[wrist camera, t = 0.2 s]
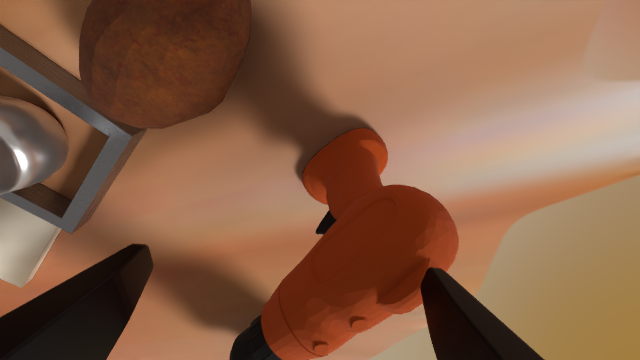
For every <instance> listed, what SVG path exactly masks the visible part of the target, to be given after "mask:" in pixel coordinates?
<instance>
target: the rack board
mask: <svg viewBox="0 0 640 360" xmlns="http://www.w3.org/2000/svg"><path fill="white" fill-rule="evenodd" d="M60 231H61V228H59V227H57V226H55V225H53V224H51V223H49V222H47V221H45V220H43V219H41V218H39V217H37V216H35V215H33V214H31V213H29V212H27V211H25V210H24V209H22V208H20V207H18V206H16V205H14V204H12V203H10V202H8V201H6V200H4V199H2V198H0V279H2V280H5V281H7V282H9V283H12V284H14V285H16V286H19V287H23V286H24V285H25V284H26V283H27V282H29V281H30V280H31V279H32V278H33V276H34V275H35V273H36V271H37V270H38V268H39V266H40V265H41V263H42V261H43V259H44V258H45V256H46V254H47V253H48V251H49V249H50V248H51V246H52V244H53V243H54V241H55V239H56V238H57V236H58V234H59V233H60Z"/></svg>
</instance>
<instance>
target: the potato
mask: <svg viewBox="0 0 640 360" xmlns="http://www.w3.org/2000/svg"><path fill="white" fill-rule="evenodd" d="M250 24H251V3H250V0H92V2H91V3H90V5H89V6H88V8H87V11H86V15H85V18H84V21H83V24H82V30H81V35H80V41H79V71H80V77H81V82H82V85H83V87H84V89H85V92H86V94H87V96H88V97H89V99H90V100H91V101H92V103H93V104H94V105H95V106H96V107H97V108H98V109H100V110H101V111H102V112H103V113H104V114H106V115H107V116H108V117H110V118H112V119H114V120H117V121H119V122H122V123H125V124H128V125H130V126H134V127H137V128H158V129H163V128H166V127H169V126H172V125H175V124H178V123H181V122H184V121H187V120H190V119H193V118H195V117H198V116H201V115H203V114H206V113H209V112H210V111H211V110H213V109H214V108H215V107H216V106H217V105H219V104H220V103H221V102H222V101H223V99H224V97H225V95H226V93H227V91H228V89H229V86H230V84H231V82H232V80H233V78H234V76H235V74H236V72H237V70H238V68H239V66H240V63H241V61H242V59H243V56H244V53H245V50H246V47H247V44H248V41H249V36H250Z"/></svg>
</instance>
